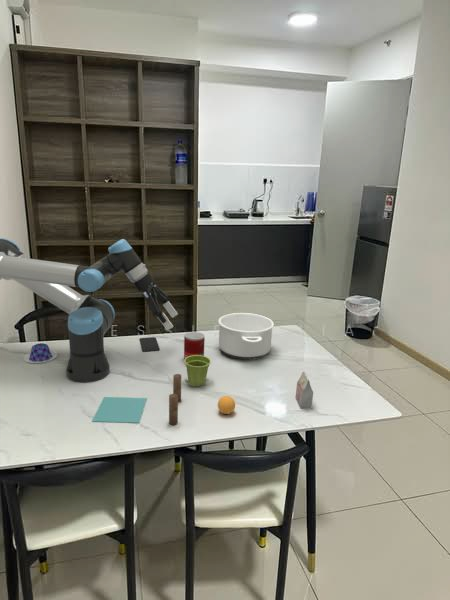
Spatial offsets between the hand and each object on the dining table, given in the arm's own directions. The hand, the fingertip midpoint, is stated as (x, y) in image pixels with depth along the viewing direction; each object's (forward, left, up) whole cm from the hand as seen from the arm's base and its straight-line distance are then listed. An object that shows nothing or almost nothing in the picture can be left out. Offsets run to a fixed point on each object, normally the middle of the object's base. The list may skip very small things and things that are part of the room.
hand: (172, 322), depth 160 cm
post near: (+4, -43, -16) cm, 46 cm away
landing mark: (-13, -37, -16) cm, 42 cm away
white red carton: (+46, -30, -17) cm, 58 cm away
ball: (+20, -37, -13) cm, 44 cm away
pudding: (-52, -1, -17) cm, 54 cm away
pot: (+29, +11, -17) cm, 36 cm away
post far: (+4, -31, -16) cm, 35 cm away
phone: (-12, +15, -17) cm, 25 cm away
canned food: (+8, 0, -16) cm, 18 cm away
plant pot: (+10, -18, -16) cm, 27 cm away
